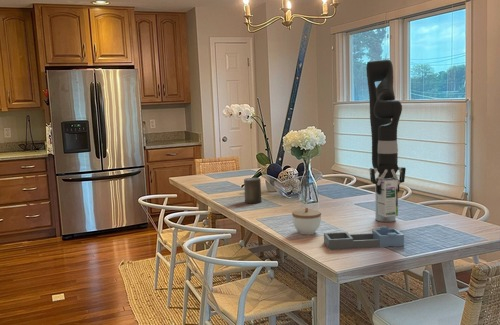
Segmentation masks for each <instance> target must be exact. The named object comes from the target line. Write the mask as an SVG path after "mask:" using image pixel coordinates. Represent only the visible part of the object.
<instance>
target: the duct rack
mask: <svg viewBox="0 0 500 325" xmlns="http://www.w3.org/2000/svg"><path fill="white" fill-rule="evenodd" d="M371 230H372V232H367V233H364V232H362V233H349V232H348V231H341V232H340V231H338V232H323V243H324V245H325V246H326V247H327V249H328V251H331V250H333V251H334V250H335V251H336V250H352V249H354V250H355V249H356V250H357V249H372V248H373V247H375V248H389V247H388V246H394V247H404V246H405V234H404V233H402V232H401V231H400V230H398V228H396V227H395V228H389V227H388V226H387V225H384V226H383V225H381V226H378V228H376V229H375V228H373V229H371Z"/></svg>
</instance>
